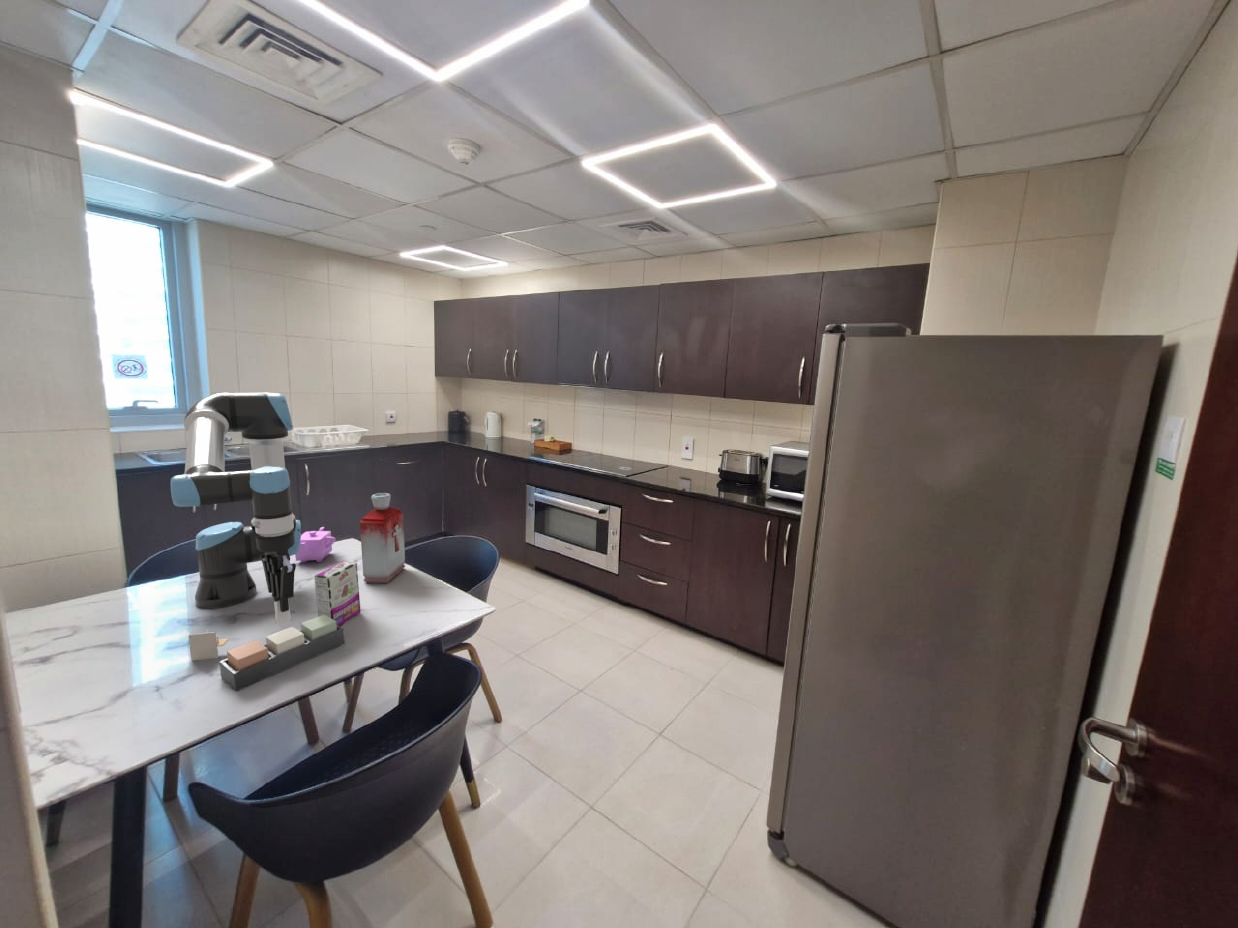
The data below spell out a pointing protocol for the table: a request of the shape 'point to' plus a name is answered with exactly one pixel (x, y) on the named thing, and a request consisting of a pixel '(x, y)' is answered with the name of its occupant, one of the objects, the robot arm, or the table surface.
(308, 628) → the sage key
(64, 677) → the table surface
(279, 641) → the ivory key
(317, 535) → the teapot
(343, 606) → the candy bar box
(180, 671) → the table surface
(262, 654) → the terracotta key
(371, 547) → the bottle
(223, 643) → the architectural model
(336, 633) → the grey compartment tray
